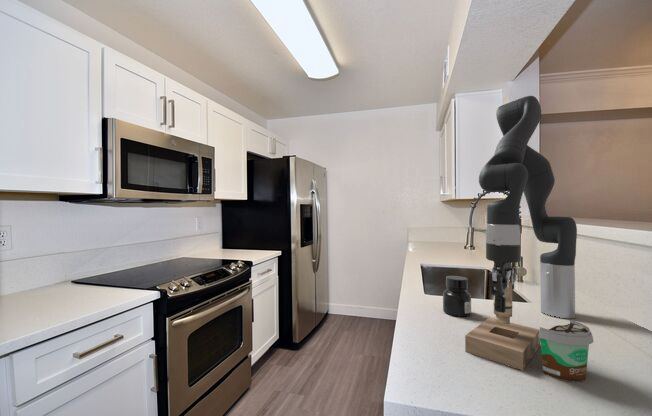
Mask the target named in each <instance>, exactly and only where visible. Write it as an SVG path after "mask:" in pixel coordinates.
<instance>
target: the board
mask: <svg viewBox="0 0 652 416" xmlns="http://www.w3.org/2000/svg"><path fill="white" fill-rule="evenodd" d="M539 330H540V328H536V327H535V328H534V327H532V326H527V325H523V324H518V323H514V322H511V321H510V324H509V325H505V324H500V323H497V322H496V318H494V317H488V318H487V319H486V320H484V321H483V322H481V323H480V324H479V325H478V326H476V327H474V328H473V329H472V330H470V331H468V333H466V334H465V335H464V338H465V343H464V345H465V349H464V350H465V353H467V354H471V355H475V356H477V357H481V358H483V359H486V360H488V361H489V360H490V361H492V360H493V361H492V362H495V361H496V362H495V363H498V362H499V363H498V364H501V363H502V364H501V365H504V364H505V366H507V365H509V366H508V367H510V366H512V367H511V368H513V367H515V368H518V369H520V370H519V371H521V370H523V371H524V370H525V369H526V367H527V366H528V364H529V363H530V362H531V360H532V359H533V357H534V356H535V354H536V353H535V352H537V351H538V350H539V348H541V340H540V337H538V335H539ZM533 355H534V356H533ZM532 356H533V357H532ZM530 359H531V360H530ZM528 362H529V363H528ZM526 365H527V366H526ZM515 368H514V369H515ZM524 368H525V369H524ZM518 369H517V370H518Z"/></svg>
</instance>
